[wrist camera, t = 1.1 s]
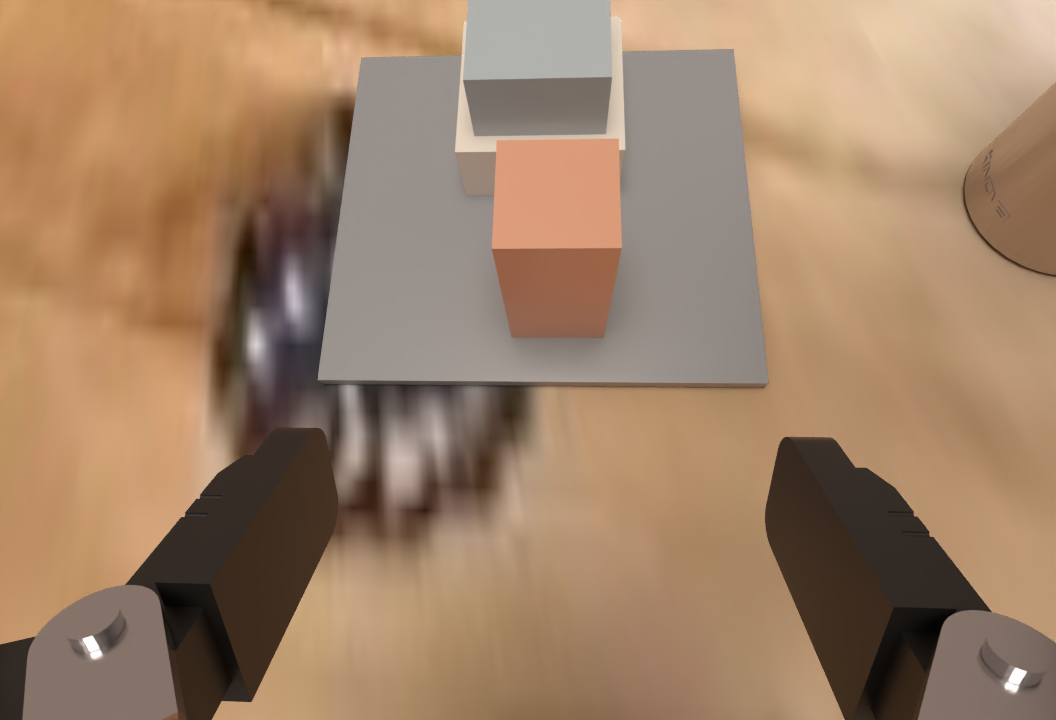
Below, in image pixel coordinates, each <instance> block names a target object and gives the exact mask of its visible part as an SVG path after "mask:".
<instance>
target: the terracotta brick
mask: <svg viewBox="0 0 1056 720" xmlns="http://www.w3.org/2000/svg"><path fill="white" fill-rule="evenodd" d="M621 250H622V234H621V200H620V165H619V139H554V140H497V145H496V167H495V189H494V210H493V232H492V252H493V257H494V261H495V265H496V270H497V274H498V279H499V283H500V288H501V292H502V297H503V301H504V305H505V310H506V314H507V319H508V323H509V328H510V332H511V337H529V338H604V334H605V329H606V324H607V319H608V314H609V309H610V304H611V299H612V294H613V289H614V285H615V280H616V275H617V270H618V265H619V260H620V255H621Z"/></svg>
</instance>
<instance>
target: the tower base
mask: <svg viewBox="0 0 1056 720" xmlns="http://www.w3.org/2000/svg"><path fill="white" fill-rule="evenodd" d="M554 139H619V165H620V180H621V174H622V168H623V162H624V156H625V122H624V91H623V61H622V30H621V17H611V13H610V0H468V14H467V21H464V31H463V45H462V59H461V73H460V87H459V101H458V115H457V129H456V143H455V155H456V158H457V162H458V166H459V170H460V174H461V178H462V181H463V185H464V189H465V193H466V195H494V189H495V167H496V145H497V140H554Z"/></svg>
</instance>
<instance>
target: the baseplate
mask: <svg viewBox="0 0 1056 720" xmlns="http://www.w3.org/2000/svg"><path fill="white" fill-rule="evenodd" d="M461 59H462V55H455V56H411V57H368V58H361V65H360V72H359V79H358V87H357V94H356V101H355V109H354V116H353V123H352V131H351V138H350V145H349V153H348V160H347V168H346V175H345V182H344V190H343V197H342V204H341V212H340V219H339V226H338V234H337V241H336V248H335V256H334V263H333V270H332V278H331V285H330V293H329V300H328V307H327V315H326V322H325V329H324V337H323V344H322V351H321V359H320V366H319V373H318V381H320V382H321V383H323V384H391V385H514V386H636V387H758V388H764V387H765V386H766V385H767V384H769V383H768V373H767V364H766V354H765V345H764V335H763V326H762V316H761V307H760V297H759V288H758V278H757V269H756V259H755V250H754V240H753V230H752V221H751V211H750V202H749V192H748V183H747V173H746V164H745V154H744V145H743V135H742V126H741V116H740V107H739V97H738V88H737V78H736V69H735V59H734V49H717V50H674V51H630V52H622V61H623V91H624V122H625V156H624V162H623V168H622V174H621V180H620V200H621V234H622V250H621V255H620V260H619V265H618V270H617V275H616V280H615V285H614V289H613V294H612V299H611V304H610V309H609V314H608V319H607V324H606V329H605V334H604V338H529V337H511V332H510V328H509V323H508V319H507V314H506V310H505V305H504V301H503V297H502V292H501V288H500V283H499V279H498V274H497V270H496V265H495V261H494V257H493V252H492V232H493V210H494V195H466V193H465V189H464V185H463V181H462V178H461V174H460V170H459V166H458V162H457V158H456V155H455V143H456V129H457V115H458V101H459V87H460V73H461Z"/></svg>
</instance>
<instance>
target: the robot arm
mask: <svg viewBox="0 0 1056 720" xmlns="http://www.w3.org/2000/svg"><path fill="white" fill-rule="evenodd" d="M964 192H965V202H966V206H967V209H968V212H969V214H970V217H971V219H972V221H973V223H974V224H975V226H976V227H977V229H978V231H979V232H980V233H981V235H982V236H983V237H984V238H985V239H986V240H987V241H988V242H989V243H990V244H991V245H992V246H993V247H994V248H995V249H997V250H998V251H999V252H1001V253H1002V254H1003V255H1005V256H1006V257H1007V258H1009V259H1011V260H1013V261H1015V262H1017V263H1019V264H1020V265H1022V266H1024V267H1027V268H1030V269H1033V270H1036V271H1039V272H1042V273H1047V274H1053V275H1056V83H1055V84H1053V85H1052V86H1051V87H1050V88H1049V89H1048V90H1047V91H1046V92H1045V93H1044V94H1043V95H1042V96H1041V97H1040V98H1039V99H1038V100H1037V101H1035V102H1034V103H1033V104H1032V105H1031V106H1030V107H1029V108H1028V109H1027V110H1026V111H1025V112H1024V113H1023V114H1022V115H1021V116H1019V117H1018V118H1017V119H1016V120H1015V121H1014V122H1013V123H1012V124H1011V125H1010V126H1009V127H1008V128H1007V129H1006V130H1005V131H1004V132H1003V133H1002V134H1001V135H999V136H998V137H997V138H996V139H995V140H994V141H993V142H992V143H991V144H990V145H989V146H988V147H987V148H986V149H985V150H984V151H983V152H982V153H981V154H980V155H979V156H978V157H977V158H976V159H975V161H974V162H973V163H972V165H971V167H970V169H969V171H968V173H967V175H966V181H965V187H964ZM913 513H914V512H913V510H912V509H911V508H910V507H909V505H908V504H907V503H906V501H905V500H904V499H903V498H902V496H901V495H900V494H899V492H898V491H897V490H896V489H895V488H894V487H893V486H891V485H890V484H889V483H887V482H886V481H884V480H883V479H882V478H880V477H879V476H877V475H876V474H875V473H873V472H872V471H870V470H869V469H868V468H855V467H854V465H853V464H852V462H851V461H850V460H849V458H848V457H847V455H846V454H845V453H844V451H843V450H842V448H841V447H840V446H839V444H838V443H837V442H836V441H835V440H834V439H833V438H826V437H785V438H783V439H782V441H781V442H780V445H779V448H778V452H777V457H776V462H775V467H774V471H773V476H772V481H771V485H770V490H769V495H768V500H767V504H766V511H765V524H766V532H767V537H768V541H769V544H770V547H771V549H772V551H773V554H774V556H775V558H776V561H777V563H778V565H779V567H780V570H781V572H782V574H783V577H784V579H785V581H786V584H787V586H788V588H789V591H790V593H791V595H792V598H793V600H794V602H795V605H796V607H797V609H798V612H799V614H800V616H801V619H802V621H803V623H804V626H805V628H806V630H807V633H808V635H809V637H810V640H811V642H812V644H813V647H814V649H815V651H816V653H817V656H818V658H819V660H820V663H821V665H822V667H823V670H824V672H825V674H826V677H827V679H828V681H829V684H830V686H831V688H832V691H833V693H834V695H835V698H836V700H837V702H838V705H839V707H840V709H841V712H842V714H843V716H844V719H845V720H1056V643H1055V642H1053V641H1052V640H1050V639H1049V638H1048V637H1046V636H1045V635H1043V634H1042V633H1040V632H1038V631H1037V630H1035V629H1033V628H1031V627H1030V626H1028V625H1026V624H1023V623H1021V622H1019V621H1017V620H1014V619H1012V618H1009V617H1007V616H1003V615H1000V614H996V613H992V612H991V610H990V609H989V608H988V607H987V605H986V604H985V603H984V601H983V600H982V599H981V598H980V596H979V595H978V594H977V592H976V591H975V590H974V589H973V587H972V586H971V585H970V583H969V582H968V581H967V580H966V578H965V577H964V576H963V574H962V573H961V572H960V571H959V569H958V568H957V567H956V565H955V564H954V563H953V562H952V560H951V559H950V558H949V557H948V555H947V554H946V553H945V551H944V550H943V549H942V548H941V546H940V545H939V544H938V542H937V541H936V540H935V539H934V537H930V536H929V531H928V530H927V528H926V527H925V526H924V524H923V523H922V522H921V521H920V519H919V518H918V517H914V514H913ZM337 516H338V495H337V490H336V485H335V480H334V475H333V470H332V465H331V460H330V455H329V450H328V445H327V440H326V436H325V434H324V432H323V431H322V430H321V429H320V428H276V429H274V430H273V431H272V432H271V433H270V435H269V436H268V437H267V439H266V440H265V441H264V442H263V444H262V445H261V446H260V448H259V449H258V450H257V451H256V453H255V454H254V455H244V456H243V457H241V458H240V459H238V460H237V461H235V462H234V463H232V464H231V465H229V466H228V467H226V468H225V469H223V470H222V471H220V472H219V473H218V474H217V475H216V476H215V477H214V479H213V480H212V481H211V482H210V483H209V485H208V486H207V487H206V488H205V489H204V491H203V492H202V493H201V494H200V499H196V500H195V501H194V503H193V504H192V505H191V506H190V507H189V509H188V510H187V511H186V512H185V517H181V518H180V520H179V521H178V522H177V523H176V524H175V526H174V527H173V528H172V529H171V530H170V532H169V533H168V534H167V535H166V536H165V538H164V539H163V540H162V541H161V542H160V544H159V545H158V546H157V547H156V548H155V550H154V551H153V552H152V553H151V554H150V556H149V557H148V558H147V559H146V560H145V562H144V563H143V564H142V565H141V567H140V568H139V569H138V570H137V571H136V573H135V574H134V575H133V576H132V577H131V579H130V580H129V581H128V582H127V583H126V585H123V586H116V587H111V588H107V589H104V590H101V591H98V592H95V593H93V594H90V595H88V596H86V597H84V598H82V599H80V600H78V601H76V602H74V603H73V604H71V605H70V606H68V607H67V608H65V609H63V610H62V611H61V612H60V613H58V614H57V615H56V616H54V617H53V618H52V619H51V620H50V621H49V622H48V623H47V624H46V625H45V626H44V627H43V628H42V629H41V630H40V632H39V633H38V634H37V636H36V637H32V638H27V639H23V640H19V641H14V642H10V643H5V644H1V645H0V720H212V718H213V716H214V714H215V712H216V710H217V709H218V707H219V705H220V703H221V701H239V702H252V700H253V698H254V696H255V694H256V692H257V689H258V687H259V685H260V683H261V681H262V679H263V677H264V675H265V673H266V671H267V669H268V667H269V665H270V662H271V660H272V658H273V656H274V654H275V652H276V650H277V648H278V646H279V644H280V642H281V640H282V638H283V635H284V633H285V631H286V629H287V627H288V625H289V623H290V621H291V619H292V617H293V615H294V613H295V611H296V609H297V606H298V604H299V602H300V600H301V598H302V596H303V594H304V592H305V590H306V588H307V586H308V584H309V582H310V579H311V577H312V575H313V573H314V571H315V569H316V567H317V565H318V563H319V561H320V559H321V557H322V555H323V553H324V550H325V548H326V546H327V544H328V542H329V540H330V538H331V536H332V534H333V532H334V529H335V526H336V522H337Z"/></svg>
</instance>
